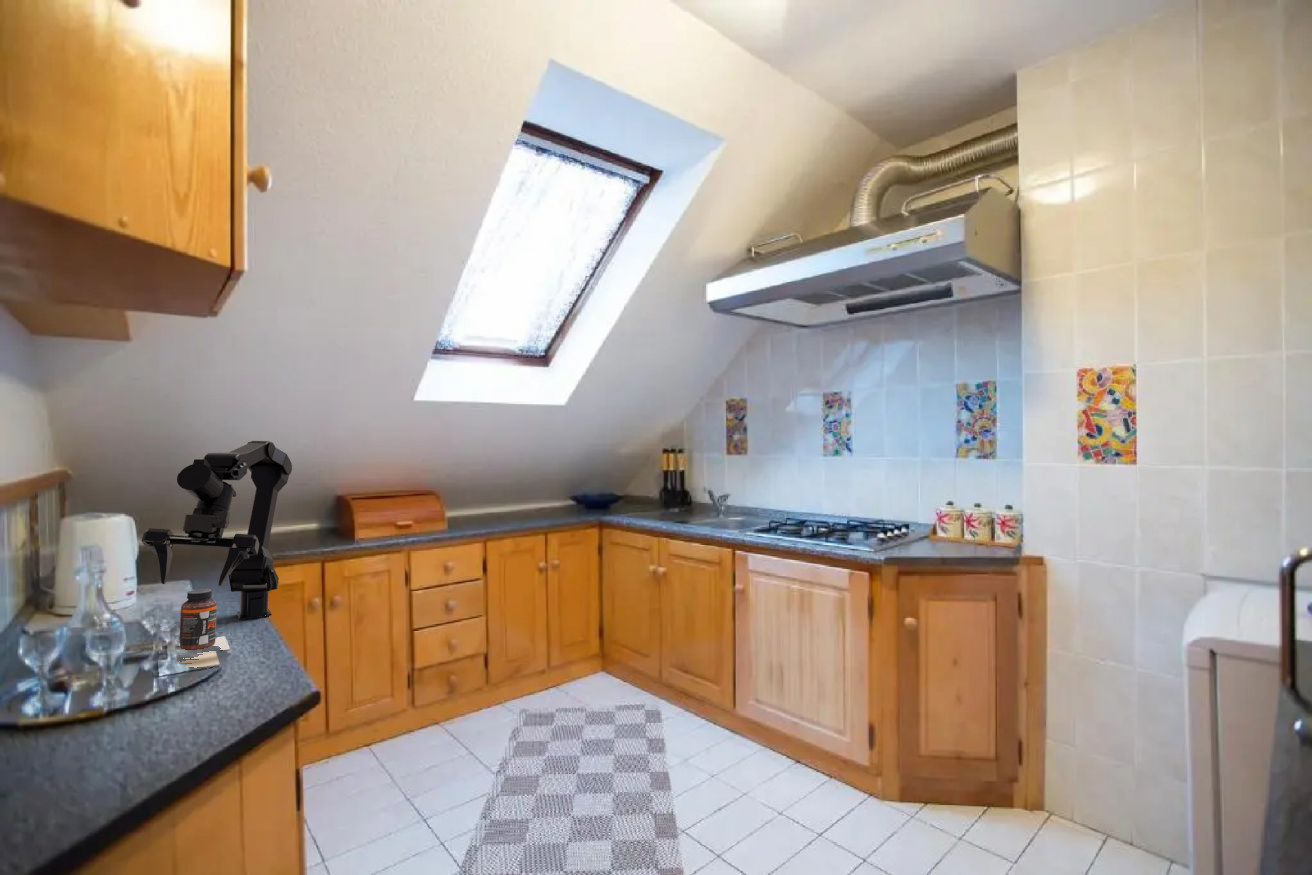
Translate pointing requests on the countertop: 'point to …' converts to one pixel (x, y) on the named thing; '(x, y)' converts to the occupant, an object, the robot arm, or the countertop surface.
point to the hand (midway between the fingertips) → (191, 584)
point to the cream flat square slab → (221, 643)
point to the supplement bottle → (198, 620)
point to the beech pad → (203, 660)
